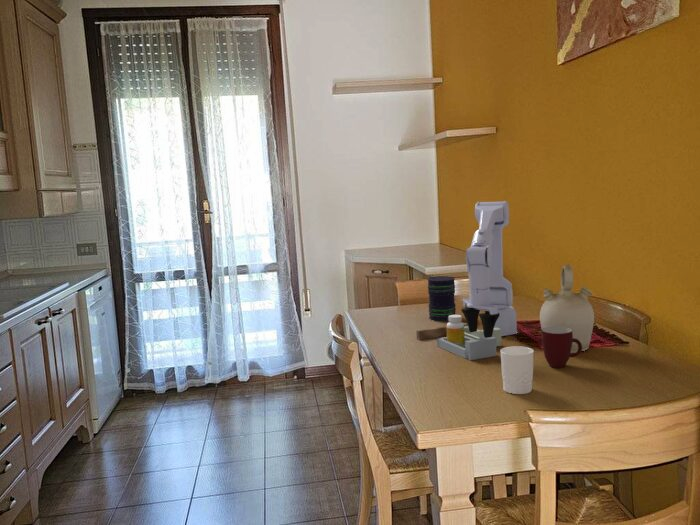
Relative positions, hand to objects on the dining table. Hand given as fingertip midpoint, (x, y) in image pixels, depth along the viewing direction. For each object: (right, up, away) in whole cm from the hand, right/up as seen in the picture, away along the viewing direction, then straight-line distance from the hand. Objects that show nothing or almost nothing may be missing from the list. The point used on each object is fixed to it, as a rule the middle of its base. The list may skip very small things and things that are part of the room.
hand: (480, 334), depth 190 cm
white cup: (+3, -11, -28) cm, 31 cm away
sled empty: (+2, -4, +19) cm, 20 cm away
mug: (+20, -8, -11) cm, 24 cm away
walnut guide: (-3, -4, +19) cm, 19 cm away
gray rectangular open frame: (-3, -6, +9) cm, 11 cm away
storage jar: (-4, 0, +52) cm, 53 cm away
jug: (+27, -5, +6) cm, 28 cm away
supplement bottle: (-5, -5, +13) cm, 15 cm away
